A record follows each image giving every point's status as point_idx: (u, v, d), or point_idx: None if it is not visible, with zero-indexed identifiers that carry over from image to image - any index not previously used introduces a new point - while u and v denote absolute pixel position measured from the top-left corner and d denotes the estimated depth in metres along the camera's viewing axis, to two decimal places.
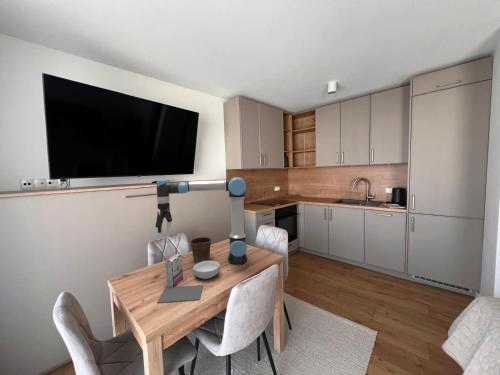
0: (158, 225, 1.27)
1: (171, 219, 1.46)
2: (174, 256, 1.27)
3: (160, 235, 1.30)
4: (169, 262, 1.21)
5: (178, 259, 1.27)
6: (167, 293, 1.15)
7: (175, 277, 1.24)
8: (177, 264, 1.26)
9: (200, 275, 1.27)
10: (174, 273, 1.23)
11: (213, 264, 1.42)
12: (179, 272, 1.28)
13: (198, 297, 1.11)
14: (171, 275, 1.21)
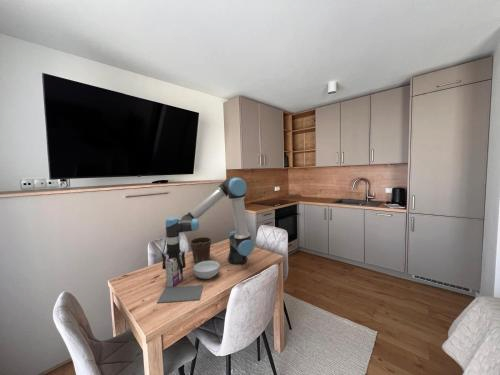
0: None
1: (183, 266, 1.26)
2: None
3: None
4: (169, 262, 1.21)
5: None
6: (167, 293, 1.15)
7: (175, 277, 1.24)
8: (177, 264, 1.26)
9: (200, 275, 1.27)
10: (174, 273, 1.23)
11: (213, 264, 1.42)
12: None
13: (198, 297, 1.11)
14: (171, 275, 1.21)
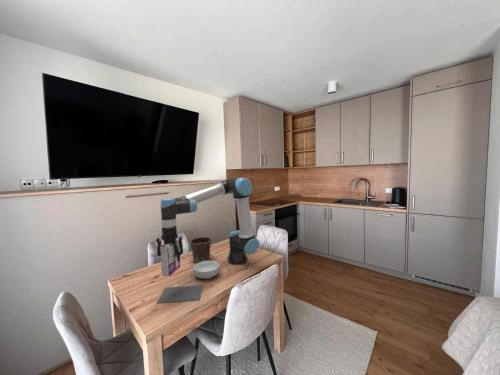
0: None
1: (180, 253, 1.12)
2: None
3: None
4: (165, 247, 1.07)
5: None
6: (167, 293, 1.15)
7: (171, 264, 1.10)
8: (174, 250, 1.12)
9: (200, 275, 1.27)
10: (170, 260, 1.09)
11: (213, 264, 1.42)
12: None
13: (198, 297, 1.11)
14: (166, 262, 1.08)
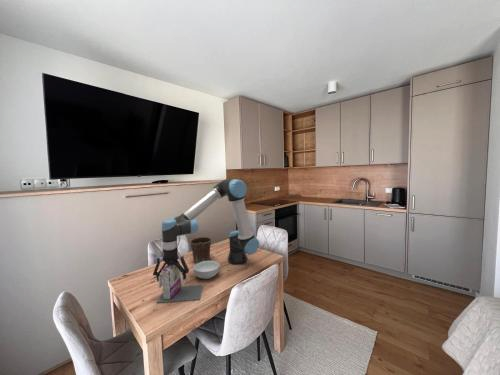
0: None
1: (186, 272, 1.14)
2: None
3: None
4: (166, 271, 1.08)
5: (175, 267, 1.14)
6: None
7: (173, 287, 1.11)
8: (175, 273, 1.13)
9: (200, 275, 1.27)
10: (171, 283, 1.10)
11: (213, 264, 1.42)
12: (177, 282, 1.16)
13: (198, 297, 1.11)
14: (168, 286, 1.09)
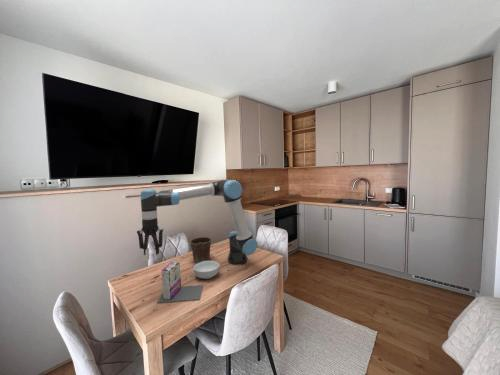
0: None
1: (159, 246, 1.11)
2: (171, 264, 1.15)
3: None
4: (166, 271, 1.08)
5: (176, 267, 1.14)
6: None
7: (173, 287, 1.11)
8: (175, 273, 1.13)
9: (200, 275, 1.27)
10: (172, 283, 1.10)
11: (213, 264, 1.42)
12: (177, 282, 1.16)
13: (198, 297, 1.11)
14: (168, 286, 1.09)
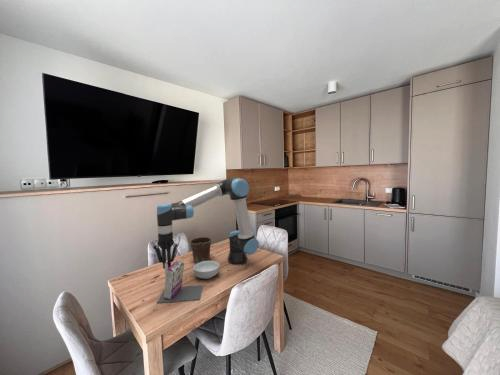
0: None
1: (171, 260, 1.12)
2: (176, 264, 1.14)
3: None
4: (171, 271, 1.08)
5: (180, 268, 1.14)
6: None
7: (174, 288, 1.11)
8: (178, 274, 1.13)
9: (200, 275, 1.27)
10: (174, 284, 1.10)
11: (213, 264, 1.42)
12: (179, 282, 1.15)
13: (198, 297, 1.11)
14: (170, 286, 1.08)
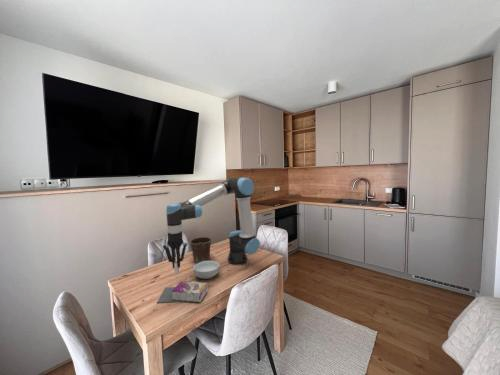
0: None
1: (180, 259, 1.13)
2: (205, 290, 1.13)
3: None
4: (198, 299, 1.06)
5: None
6: (167, 293, 1.15)
7: None
8: None
9: (200, 275, 1.27)
10: None
11: (213, 264, 1.42)
12: None
13: None
14: (184, 299, 1.08)
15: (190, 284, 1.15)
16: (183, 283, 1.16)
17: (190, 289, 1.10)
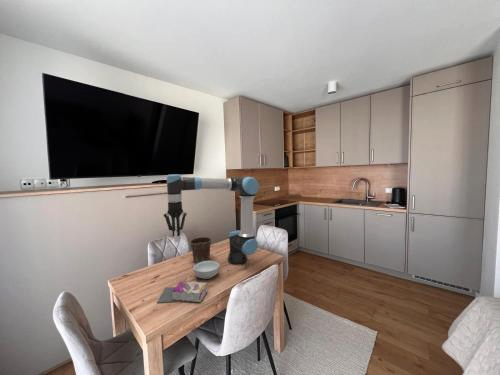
0: None
1: (180, 228, 1.17)
2: (205, 290, 1.13)
3: None
4: (198, 299, 1.06)
5: None
6: (167, 293, 1.15)
7: None
8: None
9: (200, 275, 1.27)
10: None
11: (213, 264, 1.42)
12: None
13: None
14: (184, 299, 1.08)
15: (190, 284, 1.15)
16: (183, 283, 1.16)
17: (190, 289, 1.10)
